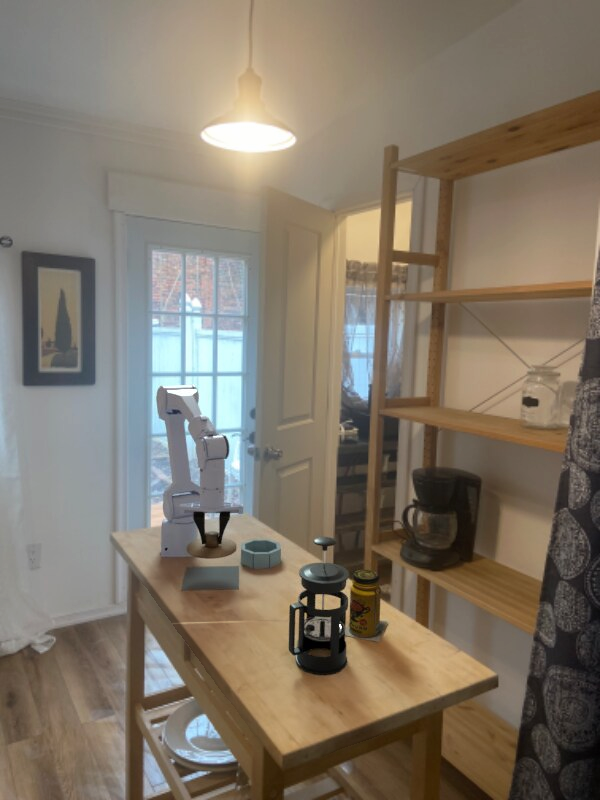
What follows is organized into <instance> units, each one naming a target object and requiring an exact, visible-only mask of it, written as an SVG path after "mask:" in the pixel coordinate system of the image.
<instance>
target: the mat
mask: <svg viewBox="0 0 600 800" xmlns="http://www.w3.org/2000/svg"><path fill="white" fill-rule="evenodd" d="M239 589H240V566H239V565H226V566H225V565H224V566H222V565H221V566H219V565H218V566H217V565H216V566H206V565H205V566H185V571H184V575H183V580H182V585H181V589H180V591H182V592H183V591H219V590H221V591H223V590H224V591H226V590H228V591H229V590H230V591H231V590H233V591H235V590H236V591H237V590H239Z"/></svg>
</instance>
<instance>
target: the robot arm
mask: <svg viewBox="0 0 600 800" xmlns="http://www.w3.org/2000/svg"><path fill="white" fill-rule="evenodd" d="M199 395H200V394H199V390H198V388H197V387H196V386H195V384H190V385H188V384H187V385H165V386H164V385H160V386H159V387H158V388H157V391H156V397H155V401H156V407H157V408H156V410H157V411H156V412H157V416H158V419H160V420H162V421H164V425H165V430H166V438H167V439H166V441H167V446H168V447H167V448H168V457H169V465H170V472H171V481H172V483H171V484H170V485H169V486H168V487H167V488H165V489H164V491H163V494H162V511H163V515H164V517H165V518H163V519H162V520H161V521H162V522H161V527H160V528H161V531H160V536H161V537H160V541H161V542H160V551H161V552H160V553H161V554H160V557H161V558H191V557H192V558H195V557H194V556H192V555H190V554H188V552H187V545H188V544H189V543H190V542H192V541H194V540H197V539H199V537H198V536H199V535H200V539H201V541H202V544H205V533H206V526H205V525H206V514H219V517H218V518H219V519H218V522H219V523H218V526H219V528H218V529H219V531H218V533H219V540H218V544H221V543H222V538H224V534H225V530H226V528H227V525H228V523H229V521H230V519H231V514H238V515H244V503H239V502H238V503H237V502H236V503H235V502H234V503H233V502H227V501H225V487H226V486H225V484H226V483H225V480H226V479H225V478H226V471H225V469H226V468H225V467H226V466H225V465H226V460H227V459H228V458H229V456H230V443H229V439H228V437H227V435H226V434H224V433H222V432H218V431H217V429H216V428H215V426H214V424H213V422H212V421H211V420H210V419H211V418H209V417H208V416H206V415H203V414H202V412H201V409H200V407H199V397H200V396H199ZM186 420H187V423H188V425H187V431H188V432H189V435H190V436H191V439H192V440H193V441H194V444H195V454H196V458H197V467H198V468H199V485H198V484H196V483H195V482H194V481H192V478H191V470H190V460H189V454H188V444H187V435H186V430H185V421H186Z"/></svg>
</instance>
